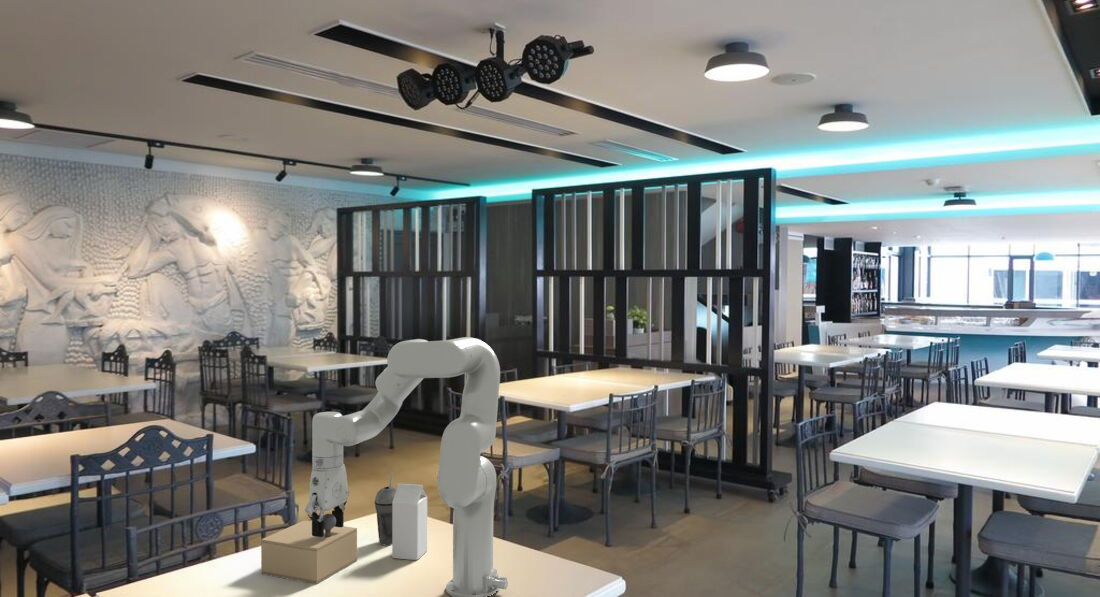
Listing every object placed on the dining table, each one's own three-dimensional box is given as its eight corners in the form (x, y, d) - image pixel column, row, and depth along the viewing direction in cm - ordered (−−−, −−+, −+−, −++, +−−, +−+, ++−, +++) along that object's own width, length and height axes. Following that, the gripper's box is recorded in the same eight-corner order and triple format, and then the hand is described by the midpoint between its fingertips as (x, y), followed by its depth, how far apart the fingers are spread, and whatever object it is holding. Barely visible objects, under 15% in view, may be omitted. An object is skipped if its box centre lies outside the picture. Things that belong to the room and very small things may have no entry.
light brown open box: (357, 561, 192) (356, 530, 192) (317, 584, 177) (317, 551, 177) (304, 552, 198) (304, 523, 198) (261, 574, 183) (261, 542, 183)
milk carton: (417, 560, 193) (417, 488, 192) (392, 558, 194) (392, 487, 194) (427, 551, 200) (427, 481, 199) (402, 549, 201) (402, 480, 201)
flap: (356, 530, 192) (357, 506, 192) (317, 550, 177) (317, 524, 177) (304, 522, 198) (304, 499, 198) (261, 541, 183) (261, 516, 183)
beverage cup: (373, 539, 209) (373, 469, 208) (399, 536, 211) (399, 467, 210) (375, 548, 202) (375, 475, 201) (402, 545, 204) (402, 473, 204)
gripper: (317, 470, 176) (317, 544, 176) (361, 455, 192) (360, 522, 192) (292, 468, 178) (292, 540, 179) (337, 453, 195) (337, 519, 195)
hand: (327, 530), depth 186 cm, fingers open, 7 cm apart
